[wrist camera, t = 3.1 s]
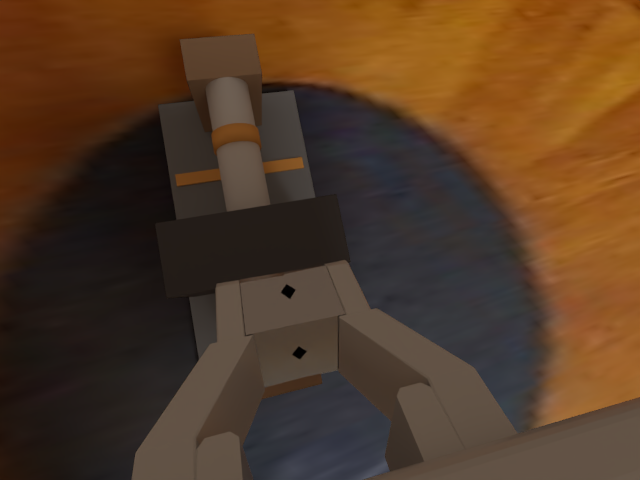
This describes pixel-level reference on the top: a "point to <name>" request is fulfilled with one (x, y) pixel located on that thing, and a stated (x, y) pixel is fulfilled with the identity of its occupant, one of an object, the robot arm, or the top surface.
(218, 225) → the collar
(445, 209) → the top surface
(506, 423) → the robot arm
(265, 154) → the pipe rig
